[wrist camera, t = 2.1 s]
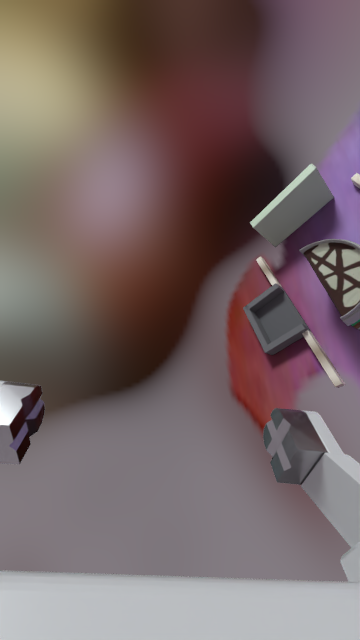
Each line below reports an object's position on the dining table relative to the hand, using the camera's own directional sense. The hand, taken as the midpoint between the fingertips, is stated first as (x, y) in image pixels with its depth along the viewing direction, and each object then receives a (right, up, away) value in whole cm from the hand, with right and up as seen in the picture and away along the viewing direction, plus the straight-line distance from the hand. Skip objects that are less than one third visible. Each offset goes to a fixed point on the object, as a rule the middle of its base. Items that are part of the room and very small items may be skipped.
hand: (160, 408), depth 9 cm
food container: (+28, +7, +27) cm, 39 cm away
